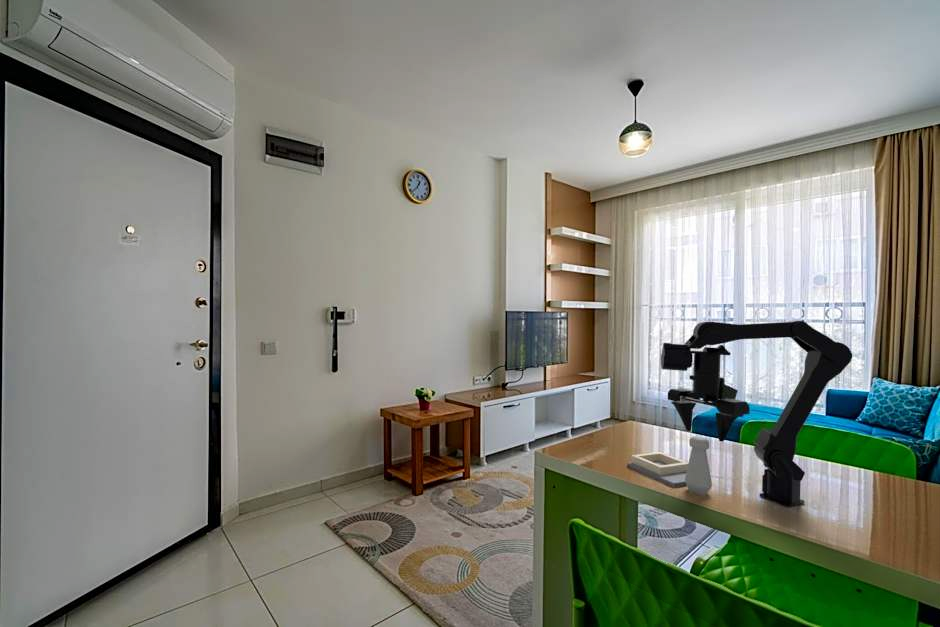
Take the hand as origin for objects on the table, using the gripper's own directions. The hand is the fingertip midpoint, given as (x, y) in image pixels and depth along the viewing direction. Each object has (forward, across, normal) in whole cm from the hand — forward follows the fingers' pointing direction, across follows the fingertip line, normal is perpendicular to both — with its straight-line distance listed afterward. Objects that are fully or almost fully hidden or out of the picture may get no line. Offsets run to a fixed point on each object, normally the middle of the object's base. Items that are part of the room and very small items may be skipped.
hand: (704, 435), depth 105 cm
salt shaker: (+13, -1, +2) cm, 14 cm away
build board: (+13, +11, 0) cm, 18 cm away
